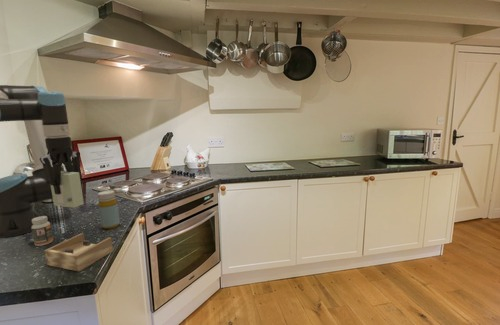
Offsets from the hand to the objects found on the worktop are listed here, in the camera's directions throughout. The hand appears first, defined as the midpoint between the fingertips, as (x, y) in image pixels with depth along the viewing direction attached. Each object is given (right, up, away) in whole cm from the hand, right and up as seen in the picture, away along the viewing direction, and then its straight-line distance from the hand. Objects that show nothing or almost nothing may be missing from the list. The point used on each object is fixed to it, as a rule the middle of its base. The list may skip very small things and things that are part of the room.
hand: (68, 200), depth 101 cm
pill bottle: (-11, -17, +3) cm, 20 cm away
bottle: (+8, -14, +16) cm, 22 cm away
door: (0, -2, 0) cm, 2 cm away
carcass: (+11, -18, -10) cm, 23 cm away
